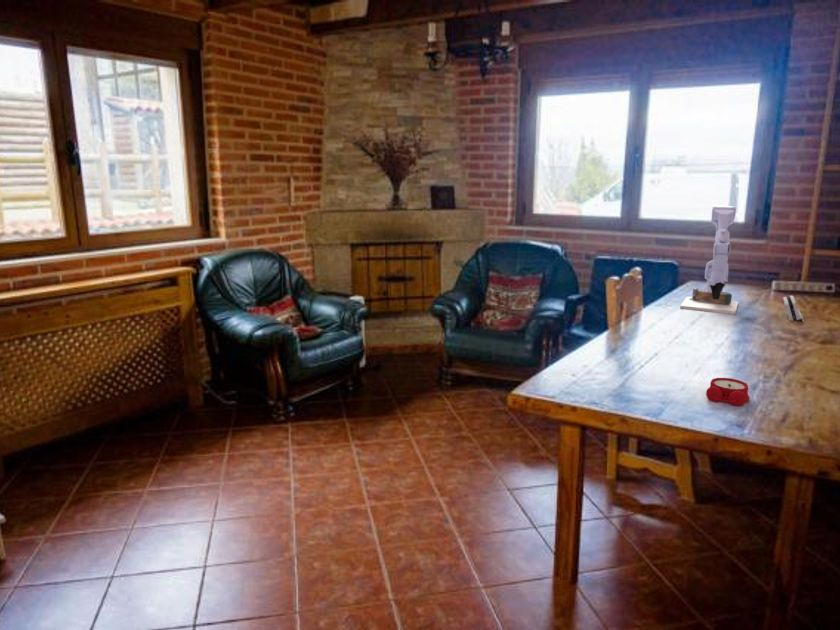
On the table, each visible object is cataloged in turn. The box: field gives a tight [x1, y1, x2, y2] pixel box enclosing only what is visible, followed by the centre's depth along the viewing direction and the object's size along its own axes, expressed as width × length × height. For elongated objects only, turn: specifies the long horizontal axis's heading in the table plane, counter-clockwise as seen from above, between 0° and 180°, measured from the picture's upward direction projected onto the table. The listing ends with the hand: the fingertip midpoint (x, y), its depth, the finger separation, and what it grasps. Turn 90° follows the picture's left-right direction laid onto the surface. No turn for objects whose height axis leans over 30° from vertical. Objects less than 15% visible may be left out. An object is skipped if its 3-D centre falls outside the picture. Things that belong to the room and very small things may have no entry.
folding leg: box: [691, 287, 733, 304], centre depth 276 cm, size 16×3×5 cm, turn 45°
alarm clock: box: [705, 377, 750, 407], centre depth 163 cm, size 10×6×15 cm
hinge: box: [782, 295, 805, 323], centre depth 255 cm, size 17×5×10 cm, turn 154°
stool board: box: [679, 291, 739, 315], centre depth 274 cm, size 23×22×5 cm
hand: (715, 299), depth 273 cm, fingers closed
